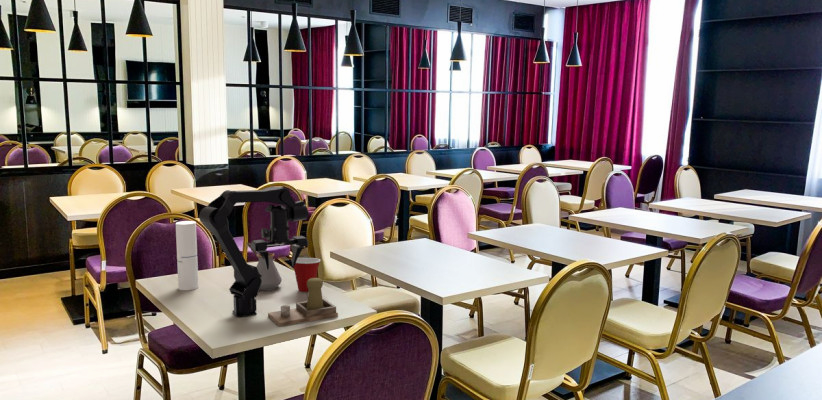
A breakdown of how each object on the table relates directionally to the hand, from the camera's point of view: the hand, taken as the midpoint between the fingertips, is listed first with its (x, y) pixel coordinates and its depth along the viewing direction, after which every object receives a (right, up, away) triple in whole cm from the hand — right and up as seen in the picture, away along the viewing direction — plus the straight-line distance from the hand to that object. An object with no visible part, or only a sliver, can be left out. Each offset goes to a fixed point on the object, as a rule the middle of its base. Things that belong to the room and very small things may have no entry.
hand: (280, 267), depth 217 cm
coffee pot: (-13, -10, +25) cm, 30 cm away
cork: (+13, -14, -9) cm, 21 cm away
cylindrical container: (-39, -10, +21) cm, 45 cm away
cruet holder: (+10, -15, -11) cm, 21 cm away
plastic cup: (+6, -11, +19) cm, 23 cm away
